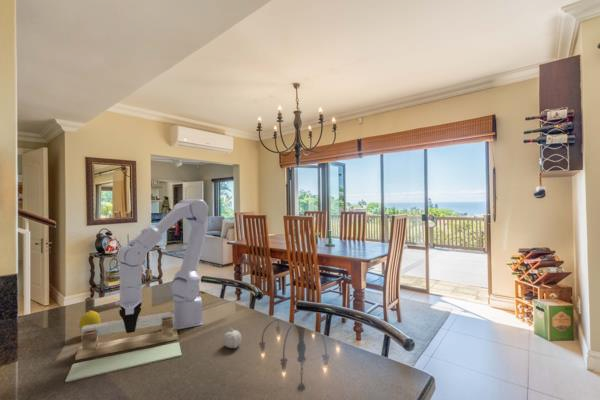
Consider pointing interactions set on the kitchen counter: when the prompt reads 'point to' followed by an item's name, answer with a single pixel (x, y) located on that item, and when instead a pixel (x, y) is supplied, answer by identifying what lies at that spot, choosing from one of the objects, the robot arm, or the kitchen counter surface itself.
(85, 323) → the lemon
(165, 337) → the rack
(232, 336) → the garlic
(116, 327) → the rail
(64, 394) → the kitchen counter surface
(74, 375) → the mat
